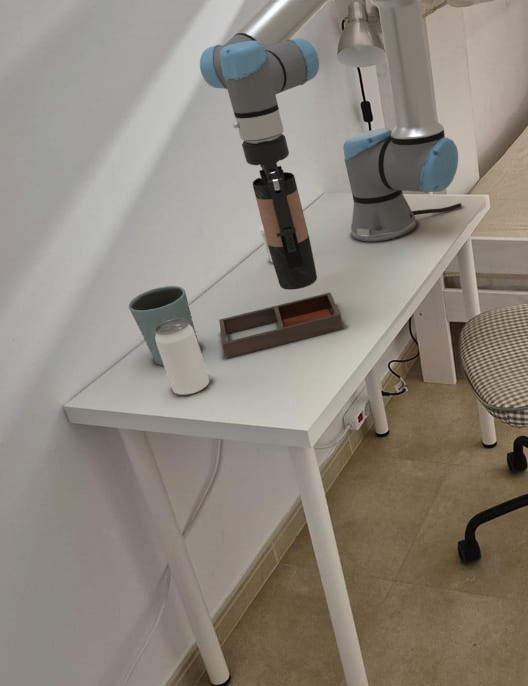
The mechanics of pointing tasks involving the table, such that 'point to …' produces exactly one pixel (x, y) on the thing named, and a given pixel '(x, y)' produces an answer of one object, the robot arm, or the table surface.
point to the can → (181, 356)
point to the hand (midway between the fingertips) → (292, 258)
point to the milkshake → (265, 241)
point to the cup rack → (281, 324)
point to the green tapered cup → (159, 313)
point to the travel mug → (285, 276)
